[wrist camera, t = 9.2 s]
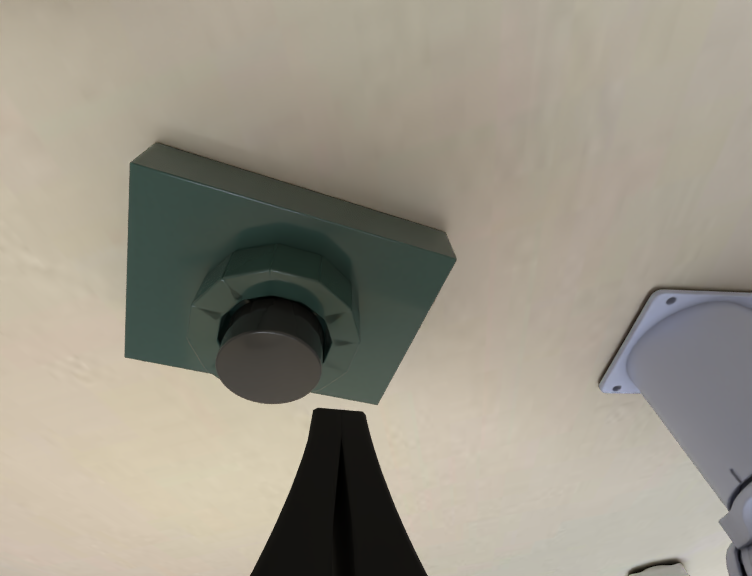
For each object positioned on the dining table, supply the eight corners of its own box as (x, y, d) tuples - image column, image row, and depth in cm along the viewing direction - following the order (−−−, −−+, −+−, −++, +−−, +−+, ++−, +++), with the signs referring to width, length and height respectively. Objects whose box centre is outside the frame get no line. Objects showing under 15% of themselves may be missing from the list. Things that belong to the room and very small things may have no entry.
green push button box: (446, 231, 20) (468, 285, 16) (375, 372, 25) (380, 436, 21) (155, 141, 17) (101, 183, 13) (144, 324, 22) (104, 390, 18)
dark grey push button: (335, 310, 17) (334, 345, 15) (310, 375, 19) (307, 412, 17) (236, 286, 16) (222, 320, 14) (221, 357, 18) (208, 394, 16)
